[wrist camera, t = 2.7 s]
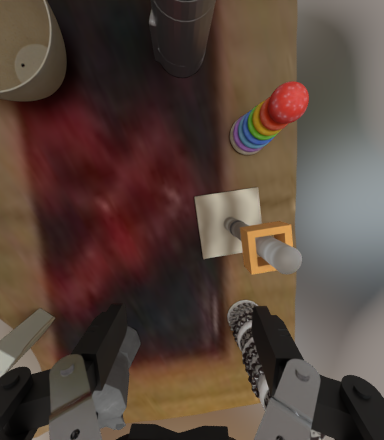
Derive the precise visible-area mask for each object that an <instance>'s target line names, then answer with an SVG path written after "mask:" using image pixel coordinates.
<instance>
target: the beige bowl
mask: <svg viewBox="0 0 384 440" xmlns="http://www.w3.org/2000/svg"><path fill="white" fill-rule="evenodd" d="M23 64H24V65H25V66H24V67H22V65H23ZM66 66H67V60H66V50H65V45H64V41H63V37H62V34H61V31H60V28H59V25H58V23H57V21H56V18H55V16H54V14H53V12H52V10H51V8H50V6H49V4H48V2H47V0H0V99H4V100H10V101H36V100H40V99H43V98H46V97H48V96H50V95H52V94H53V93H54V92H55V91H57V89H58V88H59V87H60V86H61V84H62V82H63V80H64V77H65V73H66Z"/></svg>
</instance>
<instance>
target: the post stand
mask: <svg viewBox="0 0 384 440" xmlns="http://www.w3.org/2000/svg"><path fill="white" fill-rule="evenodd" d="M194 200H195V207H196V214H197V220H198V227H199V234H200V241H201V248H202V255H203V259H206V258H212V257H218V256H224V255H230V254H236V253H242V252H243V251H242V242H241V233H240V227H245V226H251V225H258V224H262V223H261V212H260V202H259V191H258V187H255V188H249V189H242V190H235V191H229V192H222V193H215V194H209V195H202V196H195V197H194ZM255 242H256V252H257V254H258V255H259V256H260V257H262V258H263V259H264V260H265V261H266V262H268V263H269V264H270V265H271V266H273V267H274V268H275V269H276V270H278V271H279V272H280V273H282V274H292V273H294V272H295V271H297V270H298V268H299V267H300V265H301V262H302V256H301V254H300V252H299V251H298V250H297V249H295V248H293V247H291V246H289V245H287V244H285V243H283V242H281V241H279V240H277V239H275V238H273V237H271V236H263V237H256V238H255Z"/></svg>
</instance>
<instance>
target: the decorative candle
mask: <svg viewBox="0 0 384 440" xmlns="http://www.w3.org/2000/svg"><path fill="white" fill-rule="evenodd" d="M254 306H258V305H257V304H255V303H254V302H253V301H249V300H241V301H238V302H236V303H235V304H233V305H232V306H231V308H230V309H229V312H228V315H227V317H228V323H229V326H231V331H234V332H233V336H234V337H235V341H236V342H237V345H238V347H239V348H240V349H241V351H242V357H243V364H245V367H246V369H245V370H246V372H247V373H248V375H249V378H248V380H249V382H250V383H251V385H252V391H253V392H254V393H255V395H256V397H257V398H260V401H261V403H262V406H263V408H264V410H266V408H267V405H268V403H269V401H270V398H271V397H272V396H271V394H270V391H269V388H268V385H267V381H266V378H265V375H264V372H263V369H262V366H261V362H260V359H259V356H258V353H257V350H256V346H255V343H254V340H253V336H252V315H253V307H254ZM252 378H254V379H252ZM256 388H257V389H256ZM273 397H274V396H273ZM324 438H325V435H324V434H322V433H319V432H317V431H314V430H312V429H311V432H310V437H309V440H324Z"/></svg>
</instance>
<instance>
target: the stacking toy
mask: <svg viewBox="0 0 384 440" xmlns="http://www.w3.org/2000/svg"><path fill="white" fill-rule="evenodd" d="M308 102H309V95H308V92H307V89H306V88H305V87H304V86H303V85H302V84H301V83H298V82H287V83H284V84H282V85H280V86H279V87H278V88H277V89H276V90H275V91H274V92H273V94H272V95H271V97H269V98H268V99H267V100H265V101H263V102H261V103H260V104H259V105H257V106H256V107H255V108H254V109H252V110H251V111H250V112H248V113H247V114H245V115H243V116H242V117H240V118H239V119H238V120H237V121H236V122H235V123H234V124H233V126H232V128H231V131H230V141H231V144H232V146H233V148H234V149H235V150H236V151H237V152H239V153H241V154H244V155H252V154H255V153H257V152H258V151H260V150H261V149H262V148H263V147H264V146H265V145H267V144H268V143H269V142H270V141H271V140H272V139H273V138H274V137H275V136H276V135H277V133H278V132H279V131H281V129H283V128H284V127H286V126H287V125H288V123H291V122H294V121H296V120H297V119H299V118H300V117H301V116H302V115H303V113H304V112H305V110H306V108H307V106H308Z"/></svg>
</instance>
